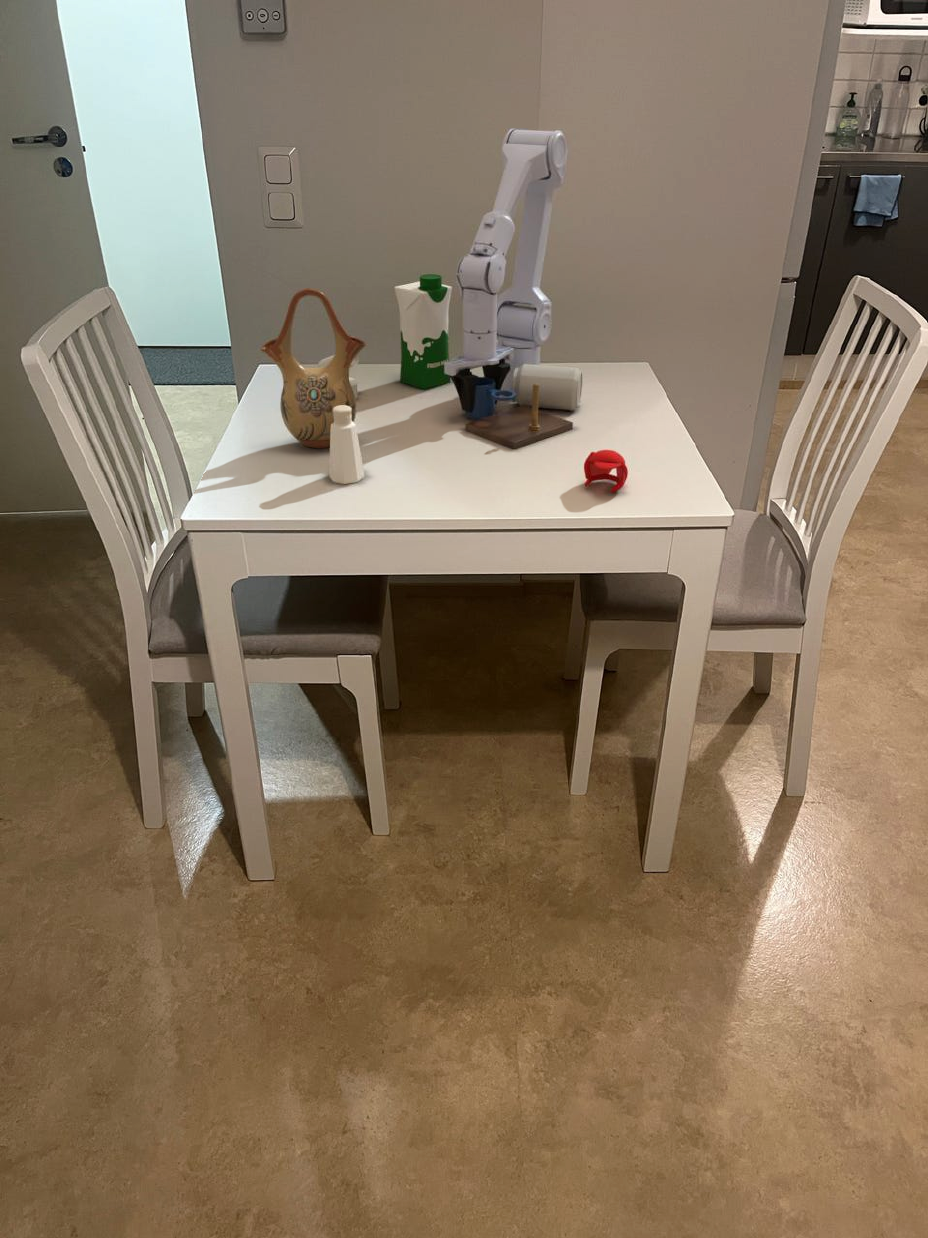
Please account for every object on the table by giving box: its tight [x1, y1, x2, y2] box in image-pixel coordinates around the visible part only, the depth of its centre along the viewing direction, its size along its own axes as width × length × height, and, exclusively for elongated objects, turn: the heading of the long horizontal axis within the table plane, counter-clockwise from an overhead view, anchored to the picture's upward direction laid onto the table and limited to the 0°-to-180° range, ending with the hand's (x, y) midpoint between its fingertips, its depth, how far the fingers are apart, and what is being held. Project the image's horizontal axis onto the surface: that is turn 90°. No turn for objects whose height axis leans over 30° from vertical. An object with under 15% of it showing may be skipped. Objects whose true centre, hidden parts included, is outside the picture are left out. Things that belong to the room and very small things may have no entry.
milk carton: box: [394, 273, 453, 390], centre depth 180 cm, size 9×9×20 cm
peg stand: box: [464, 383, 574, 450], centre depth 161 cm, size 12×14×9 cm
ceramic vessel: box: [259, 287, 367, 449], centre depth 151 cm, size 16×9×25 cm, turn 99°
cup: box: [463, 376, 516, 420], centre depth 166 cm, size 11×5×6 cm, turn 42°
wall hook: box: [316, 353, 360, 400], centre depth 176 cm, size 9×10×10 cm
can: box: [511, 364, 583, 411], centre depth 171 cm, size 8×8×12 cm
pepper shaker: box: [328, 405, 366, 485], centre depth 143 cm, size 5×5×11 cm
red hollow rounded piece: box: [583, 449, 629, 493], centre depth 141 cm, size 8×6×6 cm
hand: (479, 407), depth 169 cm, fingers closed on cup, 5 cm apart
